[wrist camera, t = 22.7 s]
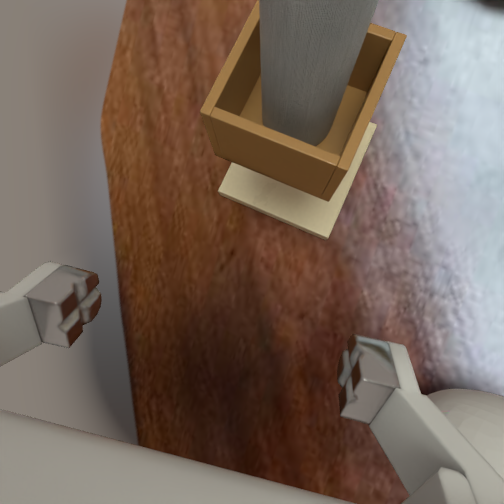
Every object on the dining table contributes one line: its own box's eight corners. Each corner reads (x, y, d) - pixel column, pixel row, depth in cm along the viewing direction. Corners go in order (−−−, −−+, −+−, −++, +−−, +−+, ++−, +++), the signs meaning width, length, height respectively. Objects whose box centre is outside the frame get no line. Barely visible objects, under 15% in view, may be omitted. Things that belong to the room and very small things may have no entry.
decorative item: (386, 449, 33) (323, 446, 23) (417, 366, 34) (371, 328, 24) (660, 631, 20) (799, 812, 10) (689, 484, 21) (832, 508, 11)
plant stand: (216, 200, 33) (-55, -351, 5) (270, 91, 34) (282, -764, 7) (323, 246, 31) (735, -158, 4) (373, 130, 33) (909, -729, 5)
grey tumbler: (255, 145, 20) (244, -16, 10) (269, 82, 21) (272, -128, 11) (325, 157, 20) (388, 4, 10) (337, 94, 20) (408, -113, 10)
